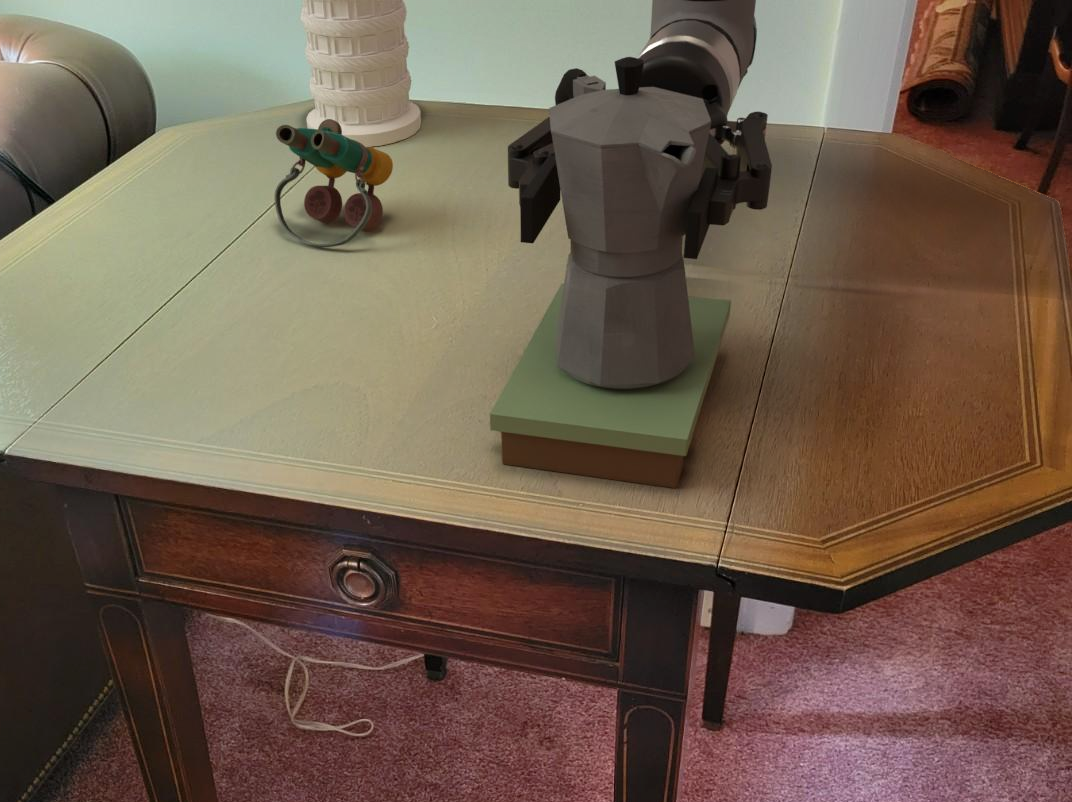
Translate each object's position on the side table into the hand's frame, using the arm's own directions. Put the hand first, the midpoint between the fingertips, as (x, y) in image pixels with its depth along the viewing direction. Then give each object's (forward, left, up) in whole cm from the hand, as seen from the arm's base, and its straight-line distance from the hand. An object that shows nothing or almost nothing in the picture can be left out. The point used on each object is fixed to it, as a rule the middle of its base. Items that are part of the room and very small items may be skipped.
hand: (608, 227), depth 68 cm
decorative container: (+36, -52, -15) cm, 65 cm away
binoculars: (+29, -28, -15) cm, 43 cm away
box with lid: (0, -5, -14) cm, 15 cm away
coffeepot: (0, -5, -10) cm, 11 cm away
